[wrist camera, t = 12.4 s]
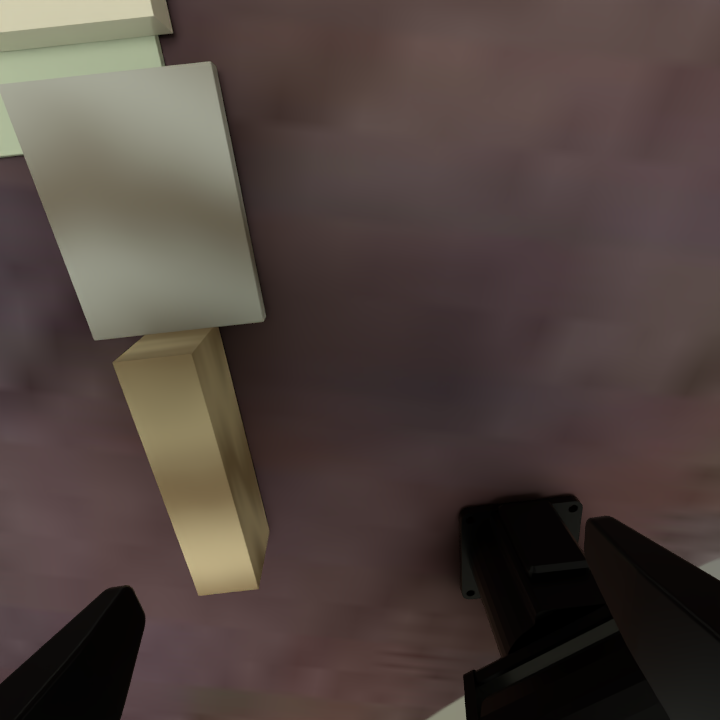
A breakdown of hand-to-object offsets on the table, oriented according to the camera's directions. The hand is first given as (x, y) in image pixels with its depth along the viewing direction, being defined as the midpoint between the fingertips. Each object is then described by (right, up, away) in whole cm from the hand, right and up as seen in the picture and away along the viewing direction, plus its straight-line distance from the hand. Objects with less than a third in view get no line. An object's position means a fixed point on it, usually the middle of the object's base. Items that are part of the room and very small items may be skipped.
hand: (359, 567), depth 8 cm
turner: (-7, +4, +10) cm, 13 cm away
